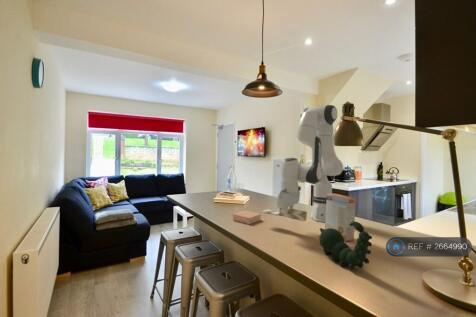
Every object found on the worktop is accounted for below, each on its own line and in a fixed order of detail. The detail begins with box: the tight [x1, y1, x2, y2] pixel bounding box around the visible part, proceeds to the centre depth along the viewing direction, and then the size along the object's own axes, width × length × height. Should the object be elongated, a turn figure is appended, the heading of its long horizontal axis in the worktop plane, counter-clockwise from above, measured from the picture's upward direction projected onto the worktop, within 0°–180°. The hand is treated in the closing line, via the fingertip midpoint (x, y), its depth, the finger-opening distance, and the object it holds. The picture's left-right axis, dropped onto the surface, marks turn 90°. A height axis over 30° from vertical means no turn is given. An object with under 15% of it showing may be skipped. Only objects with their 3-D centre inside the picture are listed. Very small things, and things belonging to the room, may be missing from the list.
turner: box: [261, 207, 308, 222], centre depth 131 cm, size 24×6×4 cm, turn 53°
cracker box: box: [324, 192, 357, 242], centre depth 123 cm, size 14×6×21 cm, turn 22°
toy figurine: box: [319, 220, 373, 270], centre depth 95 cm, size 9×19×25 cm
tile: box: [232, 210, 261, 225], centre depth 146 cm, size 4×12×12 cm
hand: (288, 213), depth 130 cm, fingers closed on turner, 3 cm apart
